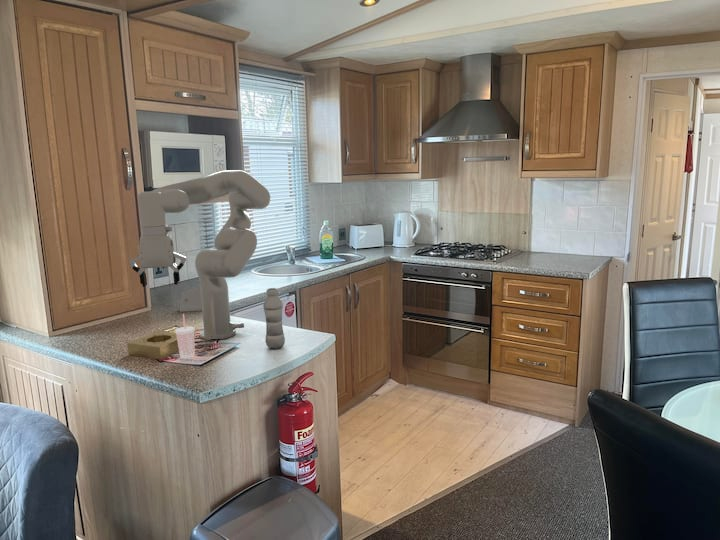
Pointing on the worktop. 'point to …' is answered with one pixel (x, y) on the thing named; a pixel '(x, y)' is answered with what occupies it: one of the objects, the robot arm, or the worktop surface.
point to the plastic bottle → (273, 319)
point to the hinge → (191, 300)
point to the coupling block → (154, 345)
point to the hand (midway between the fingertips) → (160, 284)
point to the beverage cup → (185, 340)
